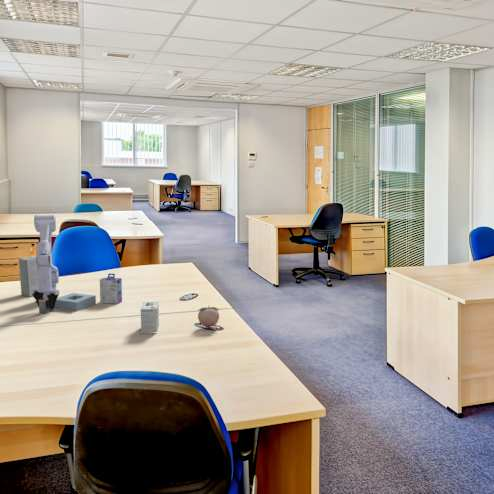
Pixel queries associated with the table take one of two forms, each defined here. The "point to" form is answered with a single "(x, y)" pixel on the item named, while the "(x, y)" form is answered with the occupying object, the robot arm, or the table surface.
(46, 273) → the robot arm
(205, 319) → the decorative fruit
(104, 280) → the ink cartridge box
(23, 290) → the hard drive box
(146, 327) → the light bulb box
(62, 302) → the well block
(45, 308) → the two-tone metal cube
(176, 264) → the table surface
